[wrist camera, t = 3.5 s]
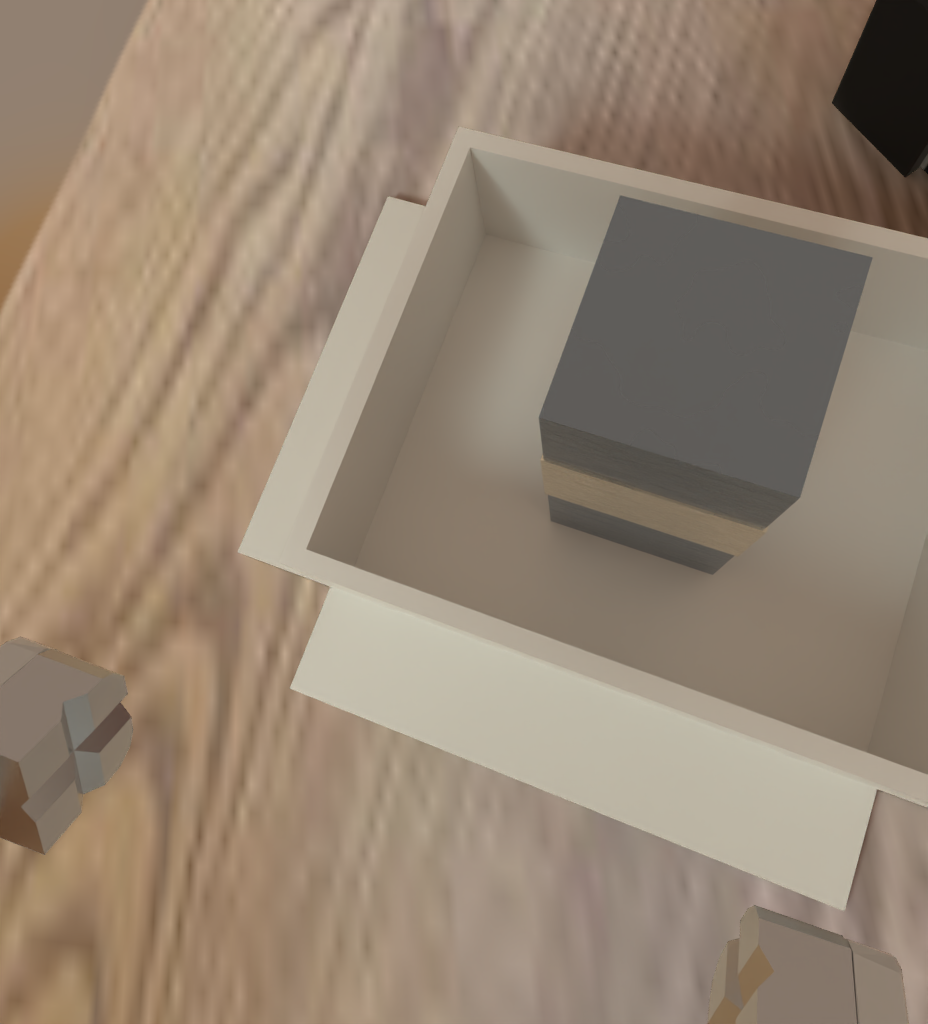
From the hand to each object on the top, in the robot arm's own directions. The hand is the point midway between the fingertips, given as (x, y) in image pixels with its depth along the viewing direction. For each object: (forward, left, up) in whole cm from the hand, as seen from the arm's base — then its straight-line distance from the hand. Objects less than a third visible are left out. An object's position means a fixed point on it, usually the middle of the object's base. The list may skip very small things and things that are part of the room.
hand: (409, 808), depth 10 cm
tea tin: (+8, +4, -11) cm, 14 cm away
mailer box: (+6, +3, -12) cm, 14 cm away
